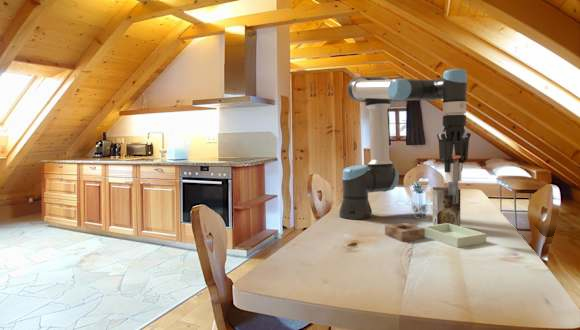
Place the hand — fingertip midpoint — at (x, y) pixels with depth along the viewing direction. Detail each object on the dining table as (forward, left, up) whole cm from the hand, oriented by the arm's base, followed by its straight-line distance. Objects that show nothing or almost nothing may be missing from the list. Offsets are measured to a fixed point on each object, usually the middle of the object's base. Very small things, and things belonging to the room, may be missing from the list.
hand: (453, 181), depth 129 cm
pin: (0, 0, -5) cm, 5 cm away
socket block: (-10, -13, -21) cm, 27 cm away
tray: (0, 0, -21) cm, 21 cm away
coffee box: (-13, +10, -21) cm, 26 cm away
